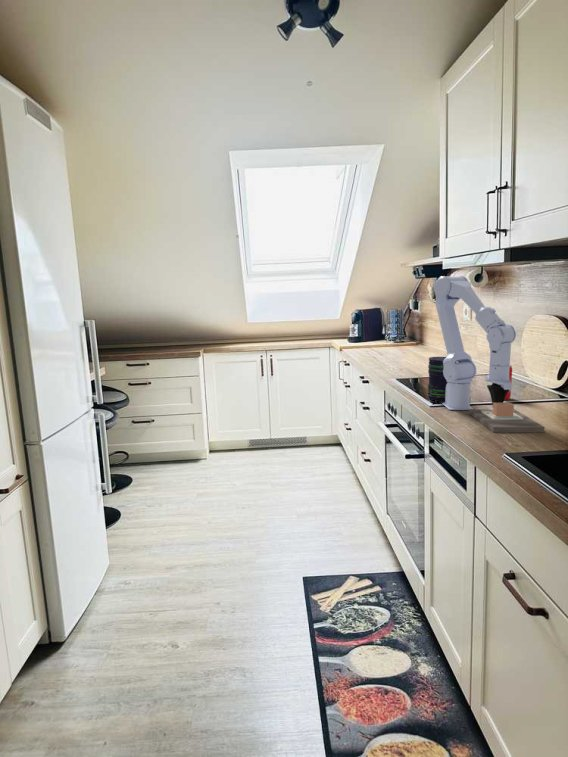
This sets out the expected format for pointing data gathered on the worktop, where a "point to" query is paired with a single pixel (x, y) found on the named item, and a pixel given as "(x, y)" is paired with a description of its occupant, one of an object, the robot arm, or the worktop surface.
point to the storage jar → (436, 379)
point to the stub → (503, 412)
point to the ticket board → (506, 422)
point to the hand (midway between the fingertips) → (497, 408)
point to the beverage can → (510, 382)
